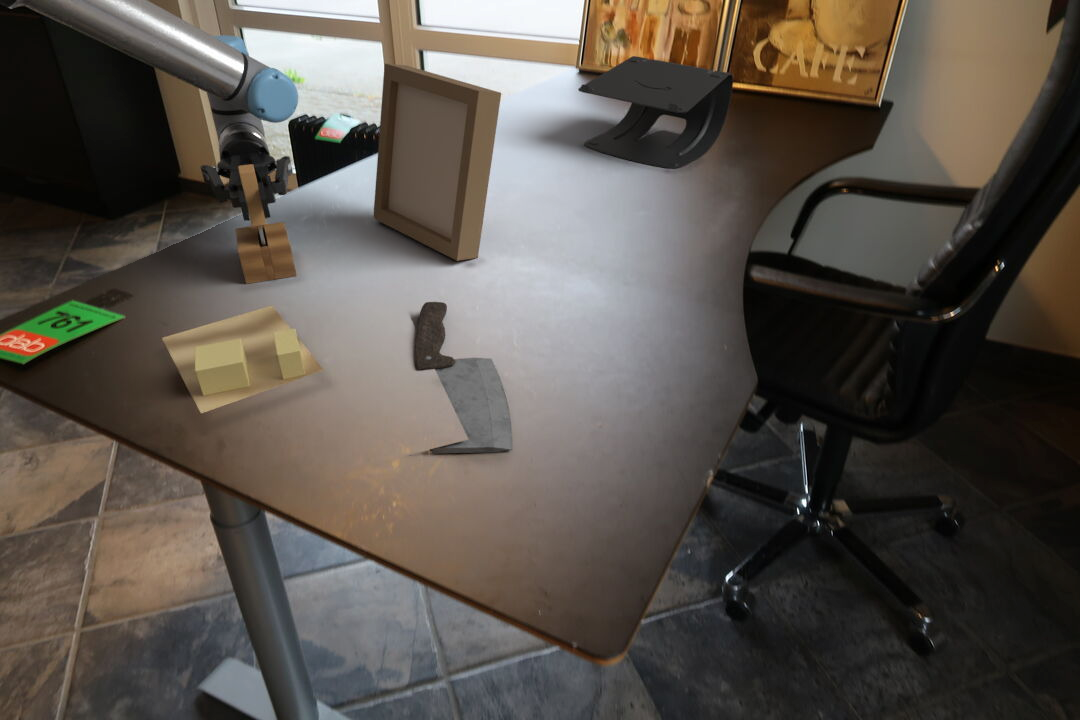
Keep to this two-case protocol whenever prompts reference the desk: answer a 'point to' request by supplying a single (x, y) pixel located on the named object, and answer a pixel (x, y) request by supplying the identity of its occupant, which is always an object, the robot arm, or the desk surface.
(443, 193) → the photo frame
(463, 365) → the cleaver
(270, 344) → the board
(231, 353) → the butter
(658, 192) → the desk surface
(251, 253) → the knife block
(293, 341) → the block
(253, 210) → the knife
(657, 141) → the laptop stand
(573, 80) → the desk surface
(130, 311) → the desk surface
